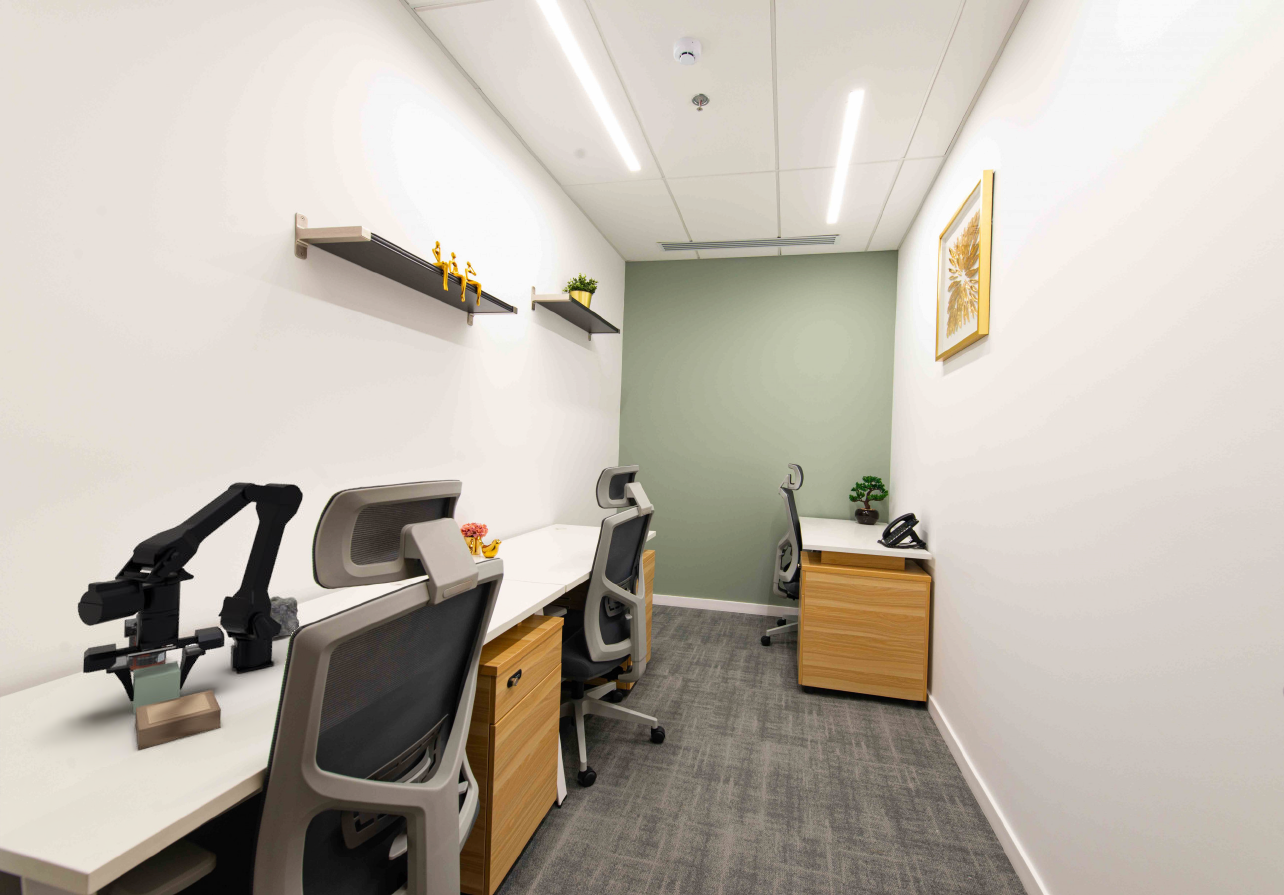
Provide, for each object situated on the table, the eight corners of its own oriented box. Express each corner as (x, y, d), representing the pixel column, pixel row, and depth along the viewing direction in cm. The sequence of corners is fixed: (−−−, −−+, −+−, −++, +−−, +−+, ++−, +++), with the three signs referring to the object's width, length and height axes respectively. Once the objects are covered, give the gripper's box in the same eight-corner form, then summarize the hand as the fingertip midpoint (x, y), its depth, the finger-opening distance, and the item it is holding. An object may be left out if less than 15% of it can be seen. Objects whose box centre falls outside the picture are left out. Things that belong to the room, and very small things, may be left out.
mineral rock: (229, 648, 124) (231, 605, 124) (240, 634, 134) (241, 594, 134) (295, 641, 130) (297, 599, 130) (300, 628, 140) (302, 589, 140)
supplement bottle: (172, 663, 115) (173, 610, 115) (136, 673, 109) (138, 618, 110) (157, 658, 117) (159, 606, 118) (121, 668, 112) (123, 614, 112)
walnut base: (211, 706, 97) (211, 689, 97) (220, 727, 90) (220, 708, 90) (135, 725, 90) (135, 706, 90) (138, 749, 83) (139, 729, 83)
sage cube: (175, 693, 102) (177, 661, 102) (179, 703, 97) (180, 670, 97) (132, 703, 97) (133, 669, 97) (133, 714, 93) (135, 680, 93)
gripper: (217, 591, 110) (214, 668, 110) (85, 608, 97) (82, 695, 96) (226, 603, 102) (223, 685, 102) (84, 623, 89) (81, 718, 89)
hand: (156, 694), depth 97 cm, fingers closed on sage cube, 6 cm apart
